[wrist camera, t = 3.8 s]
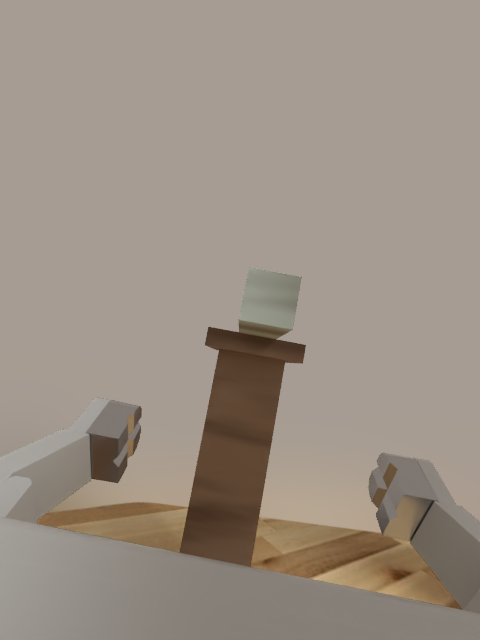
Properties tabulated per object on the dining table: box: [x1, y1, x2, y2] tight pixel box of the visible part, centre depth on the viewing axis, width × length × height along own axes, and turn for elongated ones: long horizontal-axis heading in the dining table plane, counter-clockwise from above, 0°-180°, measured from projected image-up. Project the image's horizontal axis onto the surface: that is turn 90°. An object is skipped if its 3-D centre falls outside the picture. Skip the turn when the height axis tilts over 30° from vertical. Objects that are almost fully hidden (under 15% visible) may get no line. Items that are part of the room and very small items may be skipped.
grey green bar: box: [239, 268, 302, 339], centre depth 28 cm, size 20×3×3 cm, turn 0°
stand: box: [180, 327, 306, 567], centre depth 30 cm, size 12×9×26 cm
